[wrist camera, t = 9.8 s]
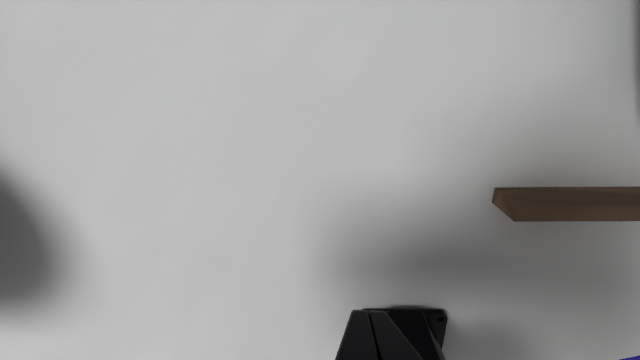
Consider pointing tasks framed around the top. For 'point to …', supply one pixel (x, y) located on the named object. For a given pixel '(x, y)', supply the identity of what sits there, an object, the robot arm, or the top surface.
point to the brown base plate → (569, 203)
